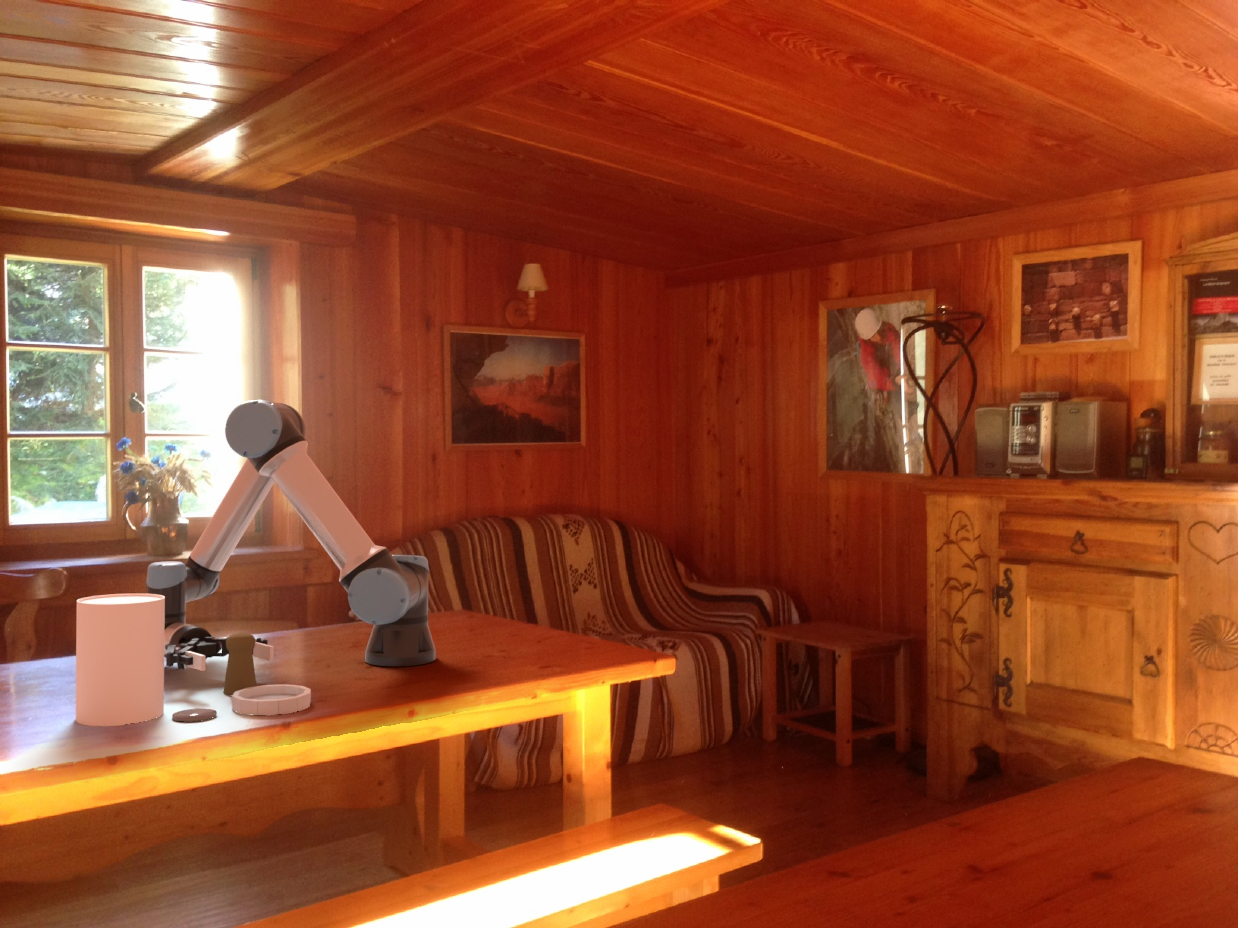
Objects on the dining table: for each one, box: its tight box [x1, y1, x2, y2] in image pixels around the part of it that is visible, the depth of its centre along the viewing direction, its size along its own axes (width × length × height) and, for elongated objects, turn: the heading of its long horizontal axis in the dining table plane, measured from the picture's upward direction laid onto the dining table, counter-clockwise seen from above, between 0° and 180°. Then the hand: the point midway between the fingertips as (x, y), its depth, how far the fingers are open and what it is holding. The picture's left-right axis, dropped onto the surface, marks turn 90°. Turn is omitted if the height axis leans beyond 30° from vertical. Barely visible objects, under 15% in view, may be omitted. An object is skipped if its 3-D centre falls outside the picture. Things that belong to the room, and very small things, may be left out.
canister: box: [75, 593, 165, 727], centre depth 177 cm, size 14×14×20 cm
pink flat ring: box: [231, 683, 312, 716], centre depth 185 cm, size 13×13×2 cm
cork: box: [222, 632, 257, 696], centre depth 196 cm, size 6×6×11 cm
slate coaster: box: [171, 708, 218, 723], centre depth 177 cm, size 7×7×1 cm
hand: (238, 658), depth 196 cm, fingers open, 13 cm apart
